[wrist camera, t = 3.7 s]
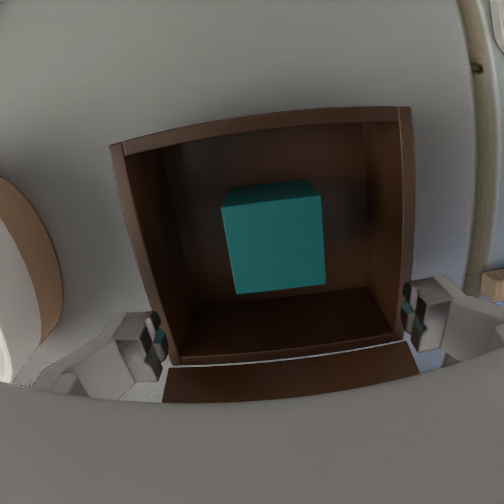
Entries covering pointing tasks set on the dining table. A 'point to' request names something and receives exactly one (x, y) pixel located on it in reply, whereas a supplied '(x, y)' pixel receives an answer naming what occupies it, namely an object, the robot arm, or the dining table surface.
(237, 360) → the chest
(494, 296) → the toy figure
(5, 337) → the bowl
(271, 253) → the cube
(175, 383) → the chest lid
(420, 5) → the dining table surface
